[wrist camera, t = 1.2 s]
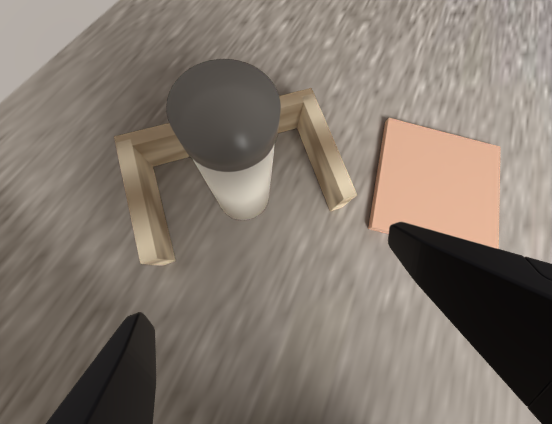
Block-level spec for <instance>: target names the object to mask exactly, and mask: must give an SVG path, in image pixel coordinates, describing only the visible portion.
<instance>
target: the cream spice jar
mask: <svg viewBox="0 0 552 424" xmlns="http://www.w3.org/2000/svg"><path fill="white" fill-rule="evenodd" d="M280 112H281V104H280V98H279V94H278V92H277V89H276V87H275V86H274V84H273V82H272V81H271V80H270V79H269V77H268V76H267V75H265V74H264V73H263V72H262V71H261V70H259V69H258V68H256V67H254V66H252V65H250V64H248V63H245V62H242V61H238V60H232V59H216V60H210V61H206V62H203V63H200V64H197V65H195V66H193V67H192V68H190V69H189V70H187V71H186V72H184V73H183V74H182V75H181V76H180V77H179V78H178V79H177V80H176V82H175V83H174V85H173V86H172V88H171V90H170V92H169V95H168V99H167V117H168V120H169V123H170V126H171V128H172V130H173V131H174V133H175V135H176V136H177V138H178V140H179V141H180V143H181V145H182V146H183V148H184V149H185V151H186V152H187V154H188V155H189V156H190V157H191V158H192V159H193V161H194V162H195V164H196V166H197V168H198V169H199V171H200V173H201V174H202V176H203V178H204V179H205V181H206V183H207V185H208V186H209V188H210V190H211V191H212V193H213V195H214V196H215V198H216V200H217V202H218V203H219V205H220V207H221V208H222V210H223V211H224V212H225V213H226V214H227V215H228V216H230V217H231V218H234V219H237V220H250V219H253V218H255V217H257V216H258V215H260V214H261V213H262V212H263V211H264V210H265V208H266V206H267V204H268V200H269V192H270V183H271V174H272V164H273V155H274V146H275V142H276V139H277V135H278V128H279V120H280Z"/></svg>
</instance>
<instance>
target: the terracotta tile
mask: <svg viewBox="0 0 552 424" xmlns="http://www.w3.org/2000/svg"><path fill="white" fill-rule="evenodd" d="M499 196H500V147H499V146H495V145H491V144H487V143H484V142H480V141H476V140H472V139H468V138H464V137H461V136H457V135H453V134H449V133H445V132H441V131H438V130H434V129H430V128H426V127H422V126H418V125H415V124H411V123H407V122H403V121H399V120H395V119H392V118H388V119H387V121H386V122H385V126H384V132H383V139H382V145H381V151H380V158H379V164H378V170H377V176H376V183H375V189H374V195H373V202H372V208H371V214H370V220H369V227H368V229H371V230H375V231H379V232H382V233H386V234H389V227H390V225H391V224H394V223H397V222H405V223H409V224H412V225H416V226H419V227H423V228H426V229H430V230H433V231H437V232H440V233H444V234H448V235H451V236H455V237H458V238H462V239H465V240H469V241H472V242H476V243H479V244H483V245H486V246H490V247H493V248H497V249H499Z"/></svg>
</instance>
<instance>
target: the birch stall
mask: <svg viewBox="0 0 552 424" xmlns="http://www.w3.org/2000/svg"><path fill="white" fill-rule="evenodd" d="M279 98H280V104H281V112H280V120H279V128H278V133H281V132H285V131H288V130H292V129H296V128H297V129H298V132H299V134H300V137H301V139H302V142H303V144H304V147H305V149H306V152H307V154H308V157H309V159H310V162H311V164H312V167H313V169H314V172H315V175H316V177H317V180H318V182H319V185H320V187H321V190H322V192H323V195H324V197H325V200H326V202H327V205H328V207H329V210H330V211H333V210H336V209H339V208H342V207H343V206H344V205H346V204H347V203H348V202H349V201H350V200H352V199H353V198H354V197H355V196H357V193H356V191H355V188H354V186H353V184H352V181H351V179H350V177H349V174H348V172H347V170H346V167H345V165H344V163H343V160H342V158H341V156H340V153H339V151H338V149H337V146H336V144H335V142H334V139H333V137H332V135H331V132H330V130H329V128H328V125H327V123H326V121H325V118H324V116H323V114H322V111H321V109H320V107H319V104H318V102H317V100H316V97H315V95H314V93H313V90H312V88H309V89H305V90H301V91H297V92H293V93H289V94H285V95H281V96H279ZM114 139H115V144H116V149H117V154H118V158H119V163H120V168H121V173H122V178H123V183H124V187H125V192H126V197H127V202H128V207H129V211H130V216H131V221H132V226H133V231H134V235H135V240H136V245H137V250H138V255H139V260H140V264H149V265H160V266H162V265H166V264H169V263H172V262H175V261H176V260H175V256H174V252H173V248H172V243H171V239H170V235H169V231H168V227H167V223H166V218H165V214H164V210H163V206H162V202H161V198H160V193H159V189H158V185H157V181H156V177H155V172H154V168H153V166H157V165H161V164H165V163H168V162H172V161H176V160H180V159H183V158H187V157H190V156H189V155H188V154H187V152H186V151H185V149H184V148H183V146H182V145H181V143H180V141H179V140H178V138H177V136H176V135H175V133H174V131H173V130H172V128H171V126H170V123H167V124H163V125H159V126H155V127H151V128H146V129H142V130H138V131H134V132H130V133H126V134H122V135H118V136H114Z"/></svg>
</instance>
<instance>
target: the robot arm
mask: <svg viewBox="0 0 552 424" xmlns="http://www.w3.org/2000/svg"><path fill="white" fill-rule="evenodd" d="M388 244H389V246H390V248H391V250H392V251H393V252H394V254H395V255H396V256H397V258H398V259H399V261H400V262H401V263H402V265H403V266H404V267H405V269H406V270H407V272H408V273H409V274H410V276H411V277H412V278H413V280H414V281H415V282H416V283H417V284H418V285H419V287H420V288H421V289H422V290H423V291H424V292H425V293H426V294H427V296H428V297H429V298H430V299H431V300H432V301H433V302H434V303H435V305H436V306H437V307H438V308H439V309H440V310H441V311H442V312H443V313H444V315H445V316H446V317H447V318H448V319H449V320H450V321H451V322H452V324H453V325H454V326H455V327H456V328H457V329H458V330H459V331H460V333H461V334H462V335H463V336H464V337H465V338H466V339H467V340H468V341H469V343H470V344H471V345H472V346H473V347H474V348H475V349H476V350H477V352H478V353H479V354H480V355H481V356H482V357H483V358H484V359H485V360H486V362H487V363H488V364H489V365H490V366H491V367H492V368H493V369H494V371H495V372H496V373H497V374H498V375H499V376H500V377H501V378H502V380H503V381H504V382H505V383H506V384H507V385H508V386H509V387H510V388H511V390H512V391H513V392H514V393H515V394H516V395H517V396H518V397H519V399H520V400H521V401H522V402H523V403H524V404H525V405H526V406H528V409H529V410H530V411H531V412H532V413H533V415H534V416H535V417H536V418H537V419H538V420H539V421H540V422H541V423H542V424H552V264H550V263H547V262H543V261H539V260H536V259H532V258H529V257H523V256H522V255H518V254H515V253H511V252H508V251H504V250H501V249H497V248H493V247H490V246H486V245H483V244H479V243H476V242H472V241H469V240H465V239H462V238H458V237H455V236H451V235H448V234H444V233H440V232H437V231H433V230H430V229H426V228H423V227H419V226H416V225H412V224H409V223H405V222H397V223H394V224H391V225H390V227H389V237H388ZM155 390H156V348H155V329H154V327H153V325H152V324H151V323H150V321H149V320H148V319H147V317H146V316H145V315H144V314H143V313H142V312H138V313H135V314H133V315H130V316H128V317H126V319H125V320H124V321H123V322H122V324H121V325H120V326H119V328H118V329H117V330H116V332H115V333H114V334H113V336H112V337H111V338H110V340H109V341H108V342H107V344H106V345H105V346H104V347H103V349H102V350H101V351H100V353H99V354H98V355H97V357H96V358H95V359H94V361H93V362H92V363H91V365H90V366H89V367H88V369H87V370H86V371H85V373H84V374H83V375H82V377H81V378H80V379H79V381H78V382H77V383H76V384H75V386H74V387H73V388H72V390H71V391H70V392H69V394H68V395H67V396H66V398H65V399H64V400H63V402H62V403H61V404H60V406H59V407H58V408H57V410H56V411H55V412H54V414H53V415H52V416H51V417H50V419H49V420H48V421H47V423H46V424H153V413H154V402H155Z"/></svg>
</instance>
